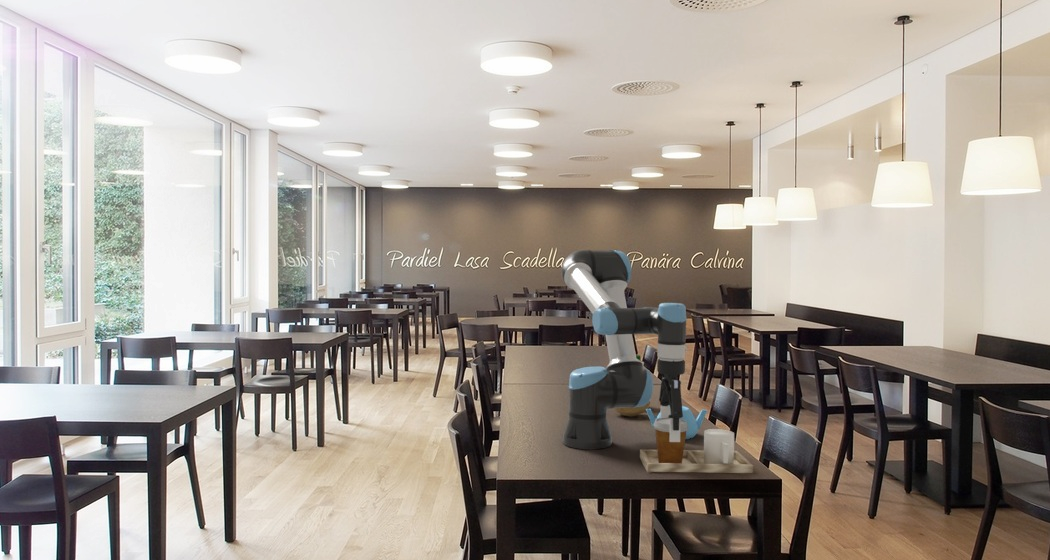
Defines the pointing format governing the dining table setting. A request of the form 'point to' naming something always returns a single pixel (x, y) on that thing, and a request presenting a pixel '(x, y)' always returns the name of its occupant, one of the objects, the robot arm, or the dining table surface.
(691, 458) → the cup carrier
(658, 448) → the disposable coffee cup
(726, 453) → the white mug
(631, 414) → the potato
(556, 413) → the dining table surface
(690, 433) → the teapot
